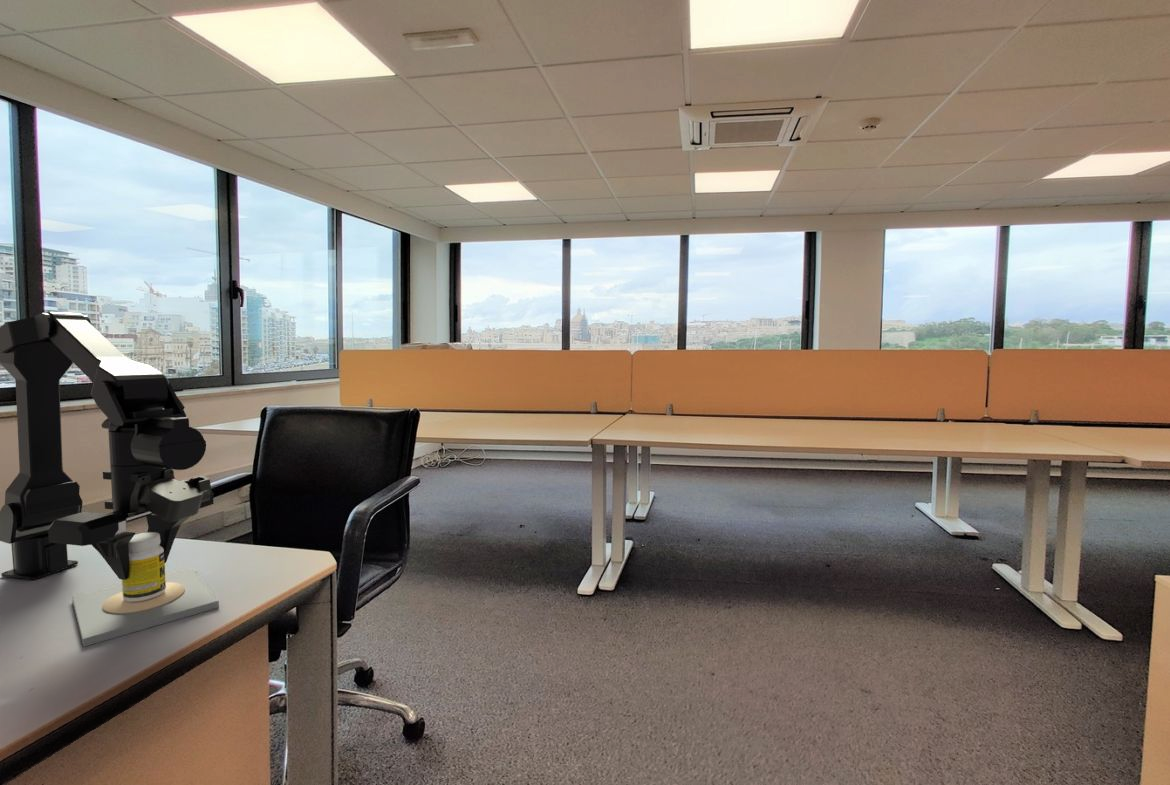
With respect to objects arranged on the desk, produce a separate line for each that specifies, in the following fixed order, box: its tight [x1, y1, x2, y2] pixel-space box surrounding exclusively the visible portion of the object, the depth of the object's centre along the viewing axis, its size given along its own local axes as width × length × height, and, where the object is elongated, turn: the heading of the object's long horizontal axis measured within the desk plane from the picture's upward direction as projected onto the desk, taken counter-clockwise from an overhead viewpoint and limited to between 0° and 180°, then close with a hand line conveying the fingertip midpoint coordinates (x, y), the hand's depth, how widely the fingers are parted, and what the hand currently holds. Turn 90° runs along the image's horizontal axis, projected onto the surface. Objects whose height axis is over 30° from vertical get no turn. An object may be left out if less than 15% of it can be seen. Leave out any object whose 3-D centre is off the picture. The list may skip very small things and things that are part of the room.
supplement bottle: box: [121, 531, 166, 602], centre depth 75 cm, size 5×5×8 cm
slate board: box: [72, 567, 220, 648], centre depth 76 cm, size 16×14×1 cm
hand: (143, 571), depth 76 cm, fingers open, 5 cm apart
